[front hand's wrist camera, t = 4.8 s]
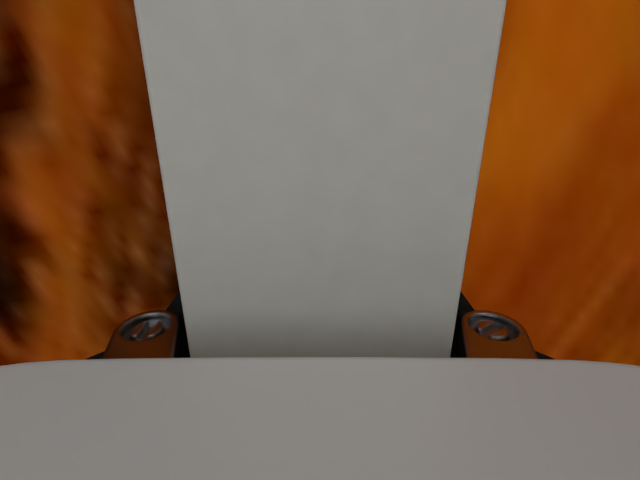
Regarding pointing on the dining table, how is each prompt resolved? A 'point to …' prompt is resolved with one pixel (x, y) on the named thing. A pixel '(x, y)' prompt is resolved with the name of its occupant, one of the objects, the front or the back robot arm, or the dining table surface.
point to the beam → (320, 167)
